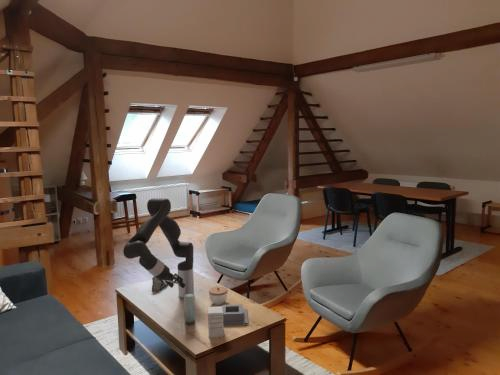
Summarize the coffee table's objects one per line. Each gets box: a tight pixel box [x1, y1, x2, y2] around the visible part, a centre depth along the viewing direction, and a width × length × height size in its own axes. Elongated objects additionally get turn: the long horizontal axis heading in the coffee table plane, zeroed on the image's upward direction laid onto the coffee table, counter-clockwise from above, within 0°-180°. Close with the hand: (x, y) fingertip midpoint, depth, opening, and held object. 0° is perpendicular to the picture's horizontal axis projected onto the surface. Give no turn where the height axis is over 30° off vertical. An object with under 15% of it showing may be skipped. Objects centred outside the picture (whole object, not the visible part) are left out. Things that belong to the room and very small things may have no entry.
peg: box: [183, 294, 196, 326], centre depth 206 cm, size 5×5×15 cm
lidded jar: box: [208, 286, 228, 306], centre depth 230 cm, size 11×11×9 cm
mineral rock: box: [151, 276, 167, 292], centre depth 254 cm, size 13×11×10 cm
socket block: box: [221, 304, 249, 327], centre depth 211 cm, size 16×16×5 cm
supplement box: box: [207, 305, 225, 339], centre depth 194 cm, size 7×7×13 cm
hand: (178, 286), depth 200 cm, fingers open, 8 cm apart
